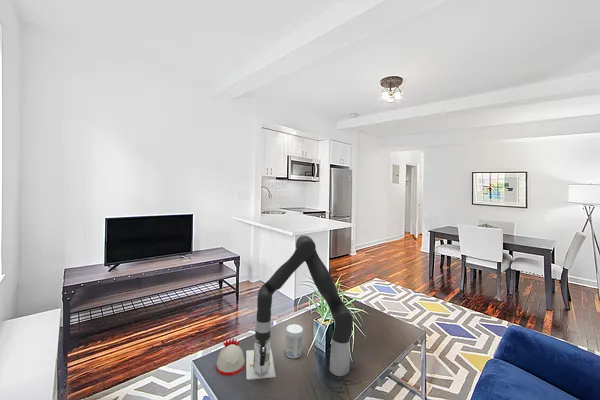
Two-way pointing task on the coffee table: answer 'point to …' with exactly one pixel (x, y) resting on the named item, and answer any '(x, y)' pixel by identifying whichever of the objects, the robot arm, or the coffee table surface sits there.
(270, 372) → the white rectangular board
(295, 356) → the supplement tub
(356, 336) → the coffee table surface
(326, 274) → the robot arm
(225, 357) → the kitchen timer
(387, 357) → the coffee table surface
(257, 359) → the syrup box
